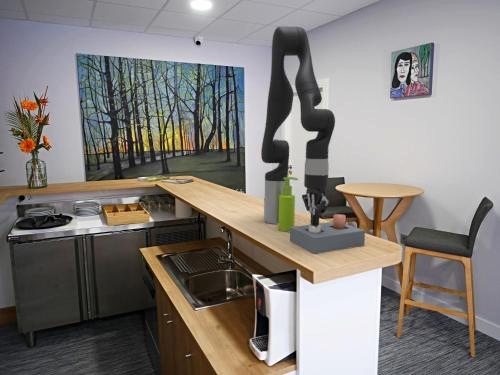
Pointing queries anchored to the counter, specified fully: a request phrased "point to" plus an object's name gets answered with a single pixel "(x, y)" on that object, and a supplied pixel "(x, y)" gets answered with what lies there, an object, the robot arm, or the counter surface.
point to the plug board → (327, 237)
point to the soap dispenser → (286, 206)
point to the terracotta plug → (339, 221)
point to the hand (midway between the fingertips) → (314, 225)
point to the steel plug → (314, 228)
